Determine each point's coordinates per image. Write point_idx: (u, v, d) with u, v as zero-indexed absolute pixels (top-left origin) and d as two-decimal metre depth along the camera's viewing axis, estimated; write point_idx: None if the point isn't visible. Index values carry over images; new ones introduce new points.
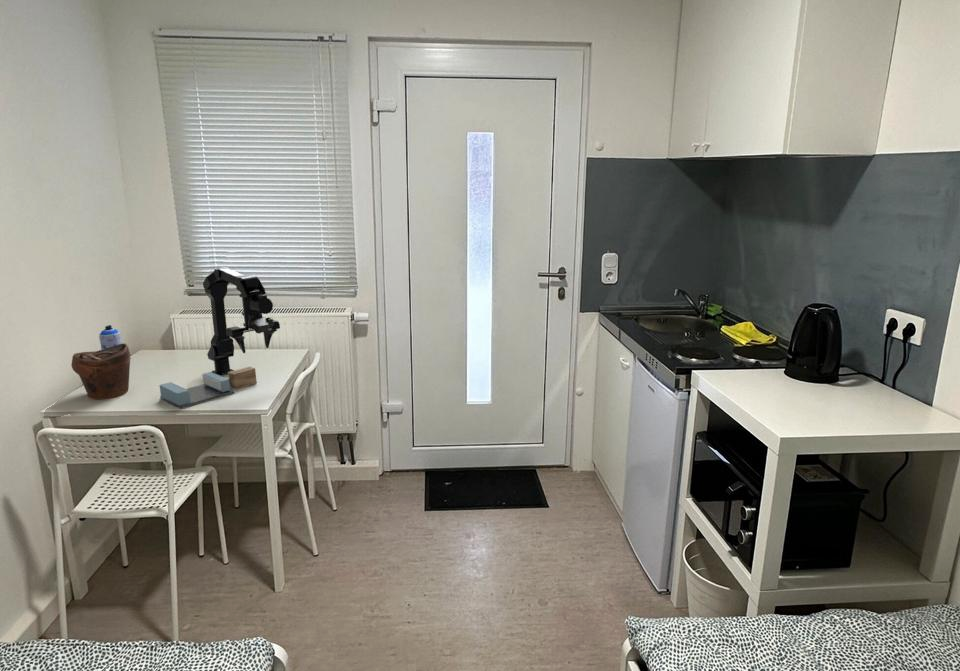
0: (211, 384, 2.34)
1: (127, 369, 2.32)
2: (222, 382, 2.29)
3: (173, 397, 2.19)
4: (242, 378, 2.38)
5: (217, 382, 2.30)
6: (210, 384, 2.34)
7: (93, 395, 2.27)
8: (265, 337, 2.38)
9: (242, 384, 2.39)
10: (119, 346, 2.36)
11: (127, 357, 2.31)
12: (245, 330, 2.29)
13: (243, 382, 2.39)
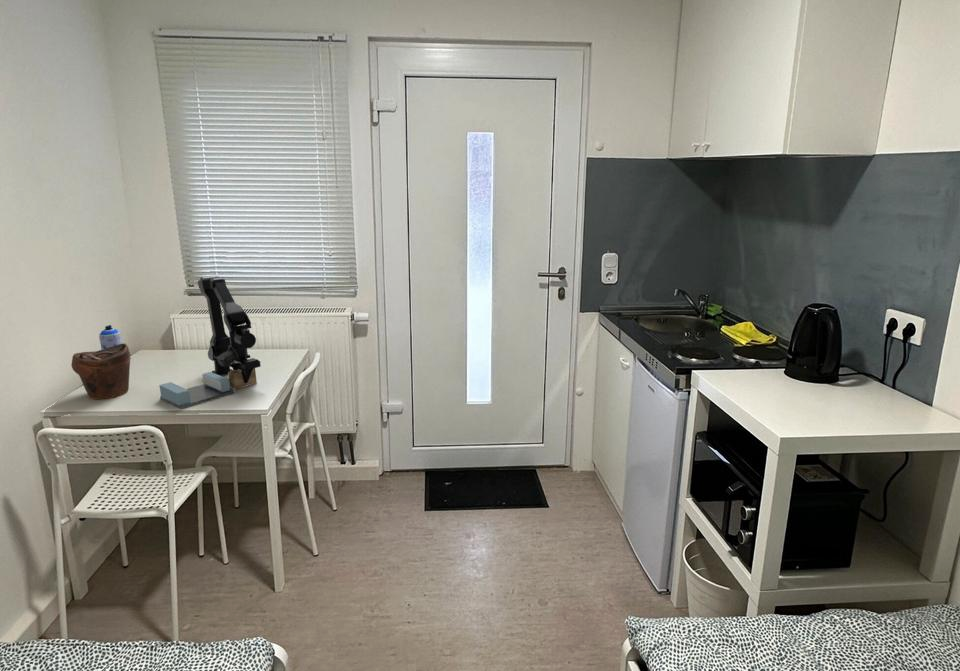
0: (211, 384, 2.34)
1: (127, 369, 2.32)
2: (222, 382, 2.29)
3: (173, 397, 2.19)
4: (242, 378, 2.38)
5: (217, 382, 2.30)
6: (210, 384, 2.34)
7: (93, 395, 2.27)
8: None
9: (242, 383, 2.39)
10: (119, 346, 2.36)
11: (127, 357, 2.31)
12: (234, 360, 2.39)
13: (243, 382, 2.39)
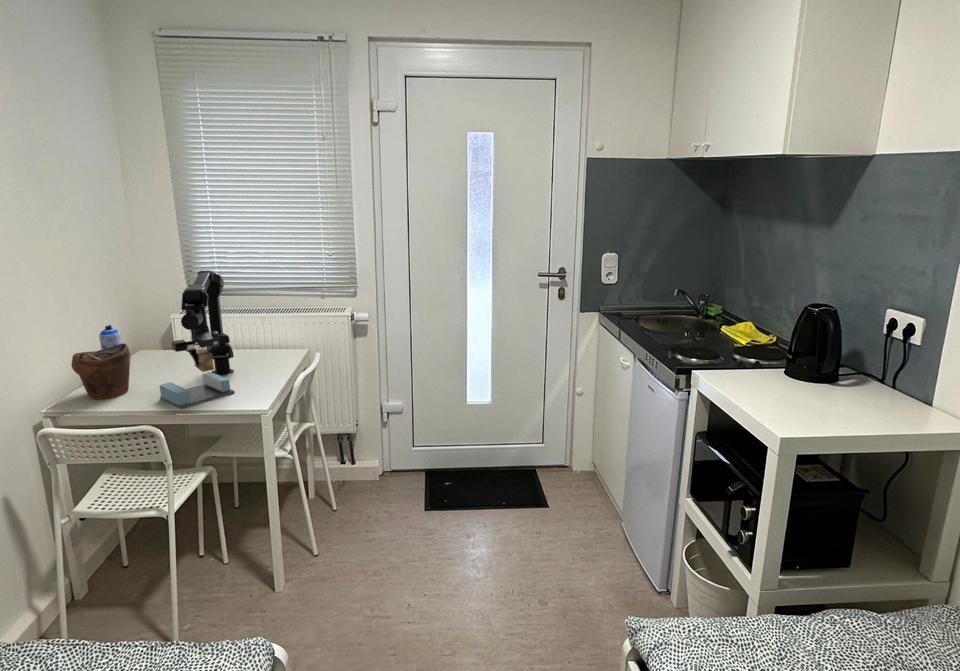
0: (211, 384, 2.34)
1: (127, 369, 2.32)
2: (222, 382, 2.29)
3: (173, 397, 2.19)
4: None
5: (217, 382, 2.30)
6: (210, 384, 2.34)
7: (93, 395, 2.27)
8: None
9: None
10: (119, 346, 2.36)
11: (127, 357, 2.31)
12: (198, 343, 2.25)
13: None
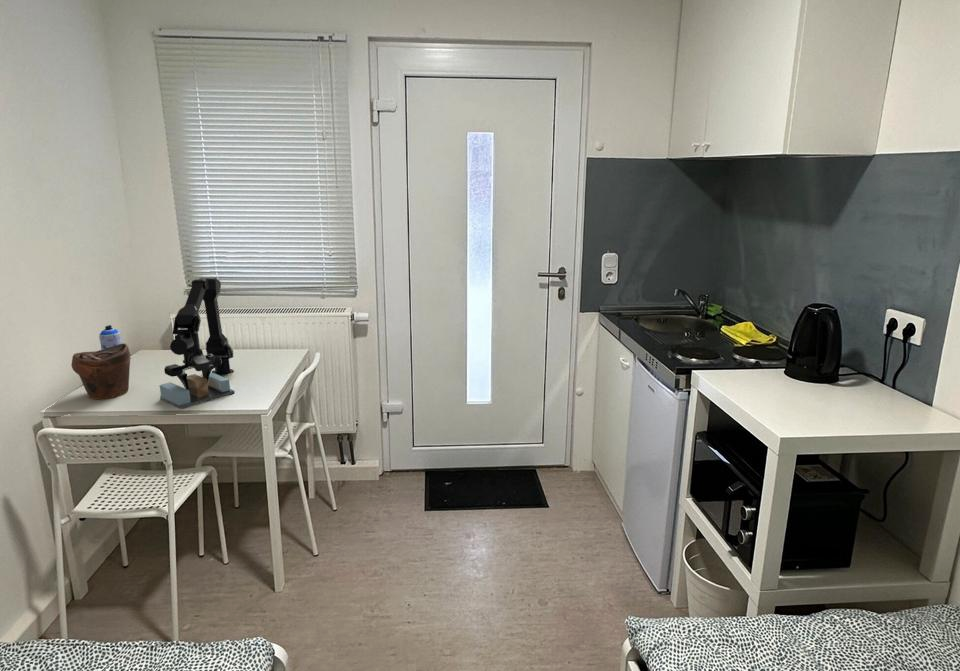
0: (211, 384, 2.34)
1: (127, 369, 2.32)
2: (222, 382, 2.29)
3: (173, 397, 2.19)
4: None
5: (217, 382, 2.30)
6: (210, 384, 2.34)
7: (93, 395, 2.27)
8: (203, 374, 2.31)
9: None
10: (119, 346, 2.36)
11: (127, 357, 2.31)
12: (188, 367, 2.24)
13: None
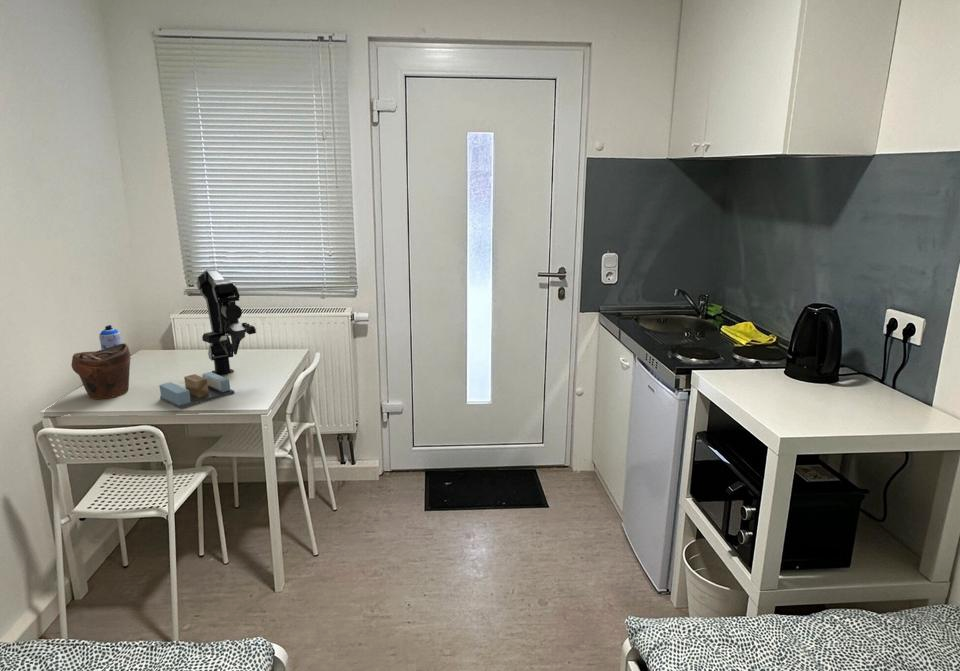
0: (211, 384, 2.34)
1: (127, 369, 2.32)
2: (222, 382, 2.29)
3: (173, 397, 2.19)
4: None
5: (217, 382, 2.30)
6: (210, 384, 2.34)
7: (93, 395, 2.27)
8: (233, 344, 2.38)
9: None
10: (119, 346, 2.36)
11: (127, 357, 2.31)
12: (230, 333, 2.34)
13: None
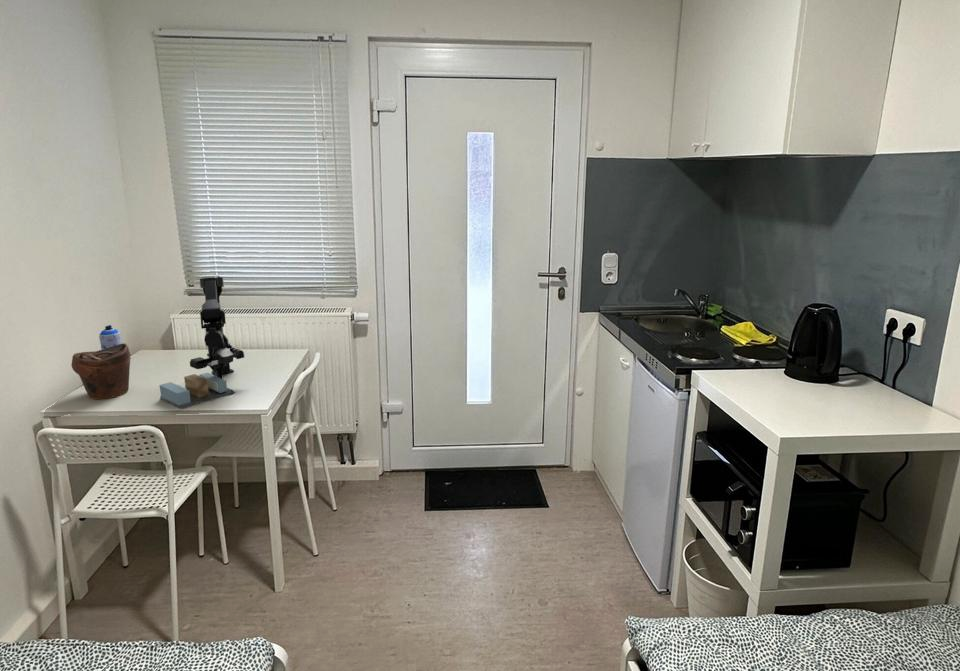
0: (208, 385, 2.33)
1: (127, 369, 2.32)
2: (219, 383, 2.28)
3: (173, 397, 2.19)
4: None
5: (214, 383, 2.29)
6: None
7: (93, 395, 2.27)
8: None
9: None
10: (119, 346, 2.36)
11: (127, 357, 2.31)
12: None
13: None
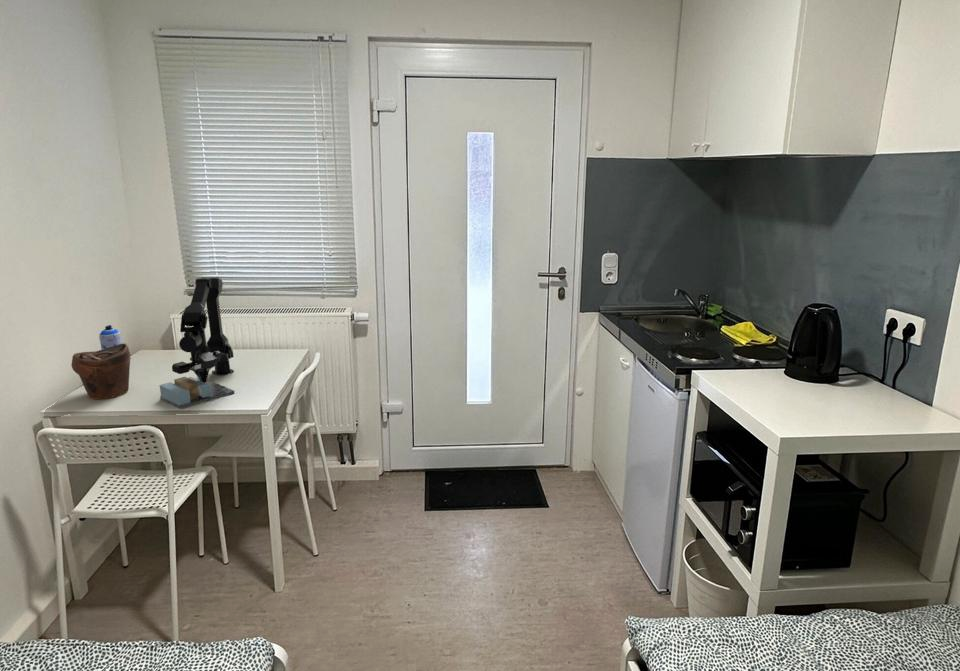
0: None
1: (127, 369, 2.32)
2: (202, 387, 2.24)
3: (173, 397, 2.19)
4: None
5: None
6: None
7: (93, 395, 2.27)
8: None
9: None
10: (119, 346, 2.36)
11: (127, 357, 2.31)
12: None
13: None
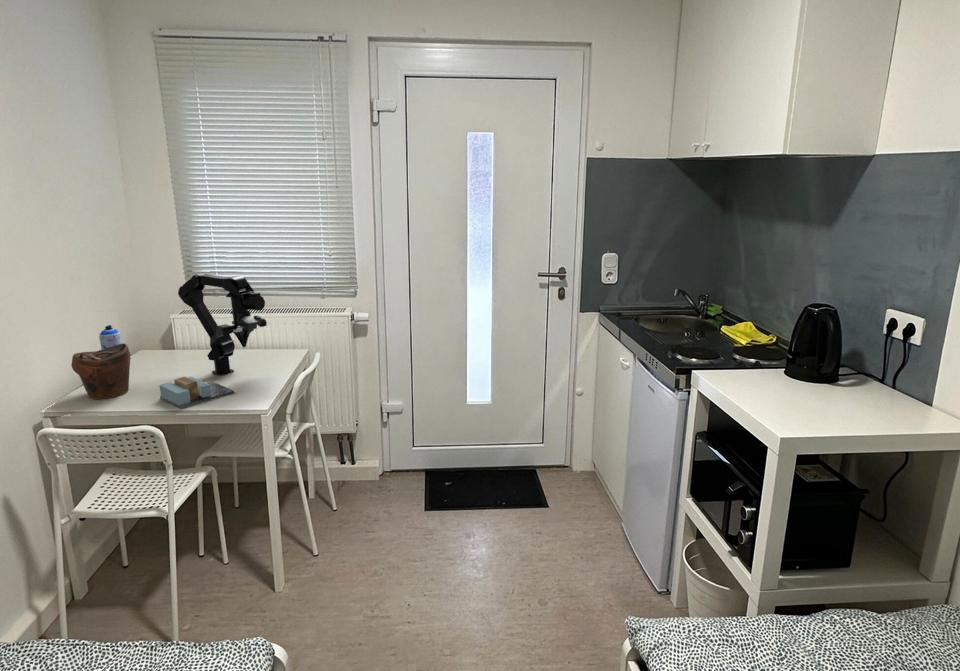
0: None
1: (127, 369, 2.32)
2: (202, 387, 2.24)
3: (173, 397, 2.19)
4: None
5: None
6: None
7: (93, 395, 2.27)
8: None
9: None
10: (119, 346, 2.36)
11: (127, 357, 2.31)
12: None
13: None
